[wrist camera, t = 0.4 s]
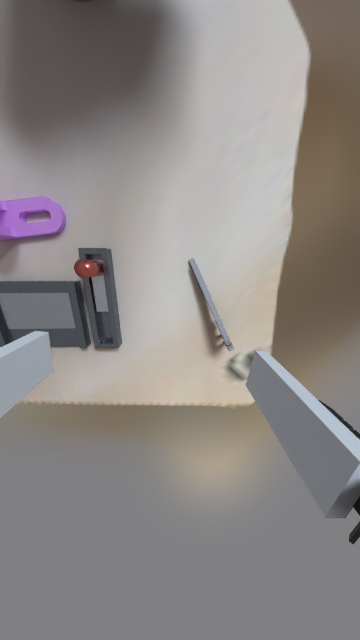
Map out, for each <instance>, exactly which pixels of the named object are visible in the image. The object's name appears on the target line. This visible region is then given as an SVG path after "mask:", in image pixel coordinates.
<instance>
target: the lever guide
mask: <svg viewBox="0 0 360 640" xmlns="http://www.w3.org/2000/svg"><path fill="white" fill-rule="evenodd" d="M78 250H79V256H80V260H102V262H103V270H104V277H105V284H106V292H107V299H108V307H109V312H97V309H96V303H95V296H94V290H93V284H92V277H88V278H83V279H84V285H85V291H86V297H87V302H88V308H89V314H90V320H91V326H92V331H93V337H94V343H95V348H119V346H120V345H121V343H122V339H121V331H120V322H119V314H118V305H117V297H116V288H115V280H114V271H113V263H112V254H111V249H107V248H78Z"/></svg>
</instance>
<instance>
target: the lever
mask: <svg viewBox="0 0 360 640" xmlns="http://www.w3.org/2000/svg"><path fill="white" fill-rule="evenodd" d="M74 270H75V272H76V274H77V275H78V276H80V277H82V278H88V277H92V284H93V290H94V296H95V303H96V309H97V312H109V307H108V299H107V292H106V284H105V277H104V270H103V262H102V260H79V261H77V262H76V263H75V265H74Z"/></svg>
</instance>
